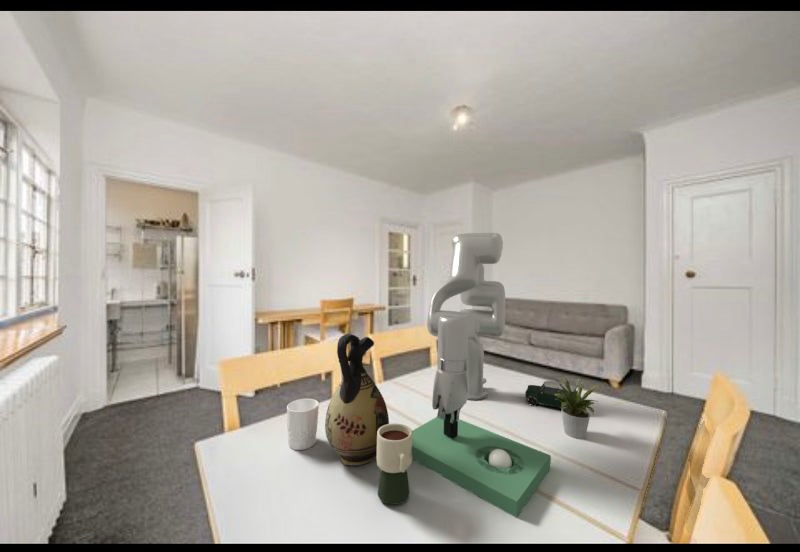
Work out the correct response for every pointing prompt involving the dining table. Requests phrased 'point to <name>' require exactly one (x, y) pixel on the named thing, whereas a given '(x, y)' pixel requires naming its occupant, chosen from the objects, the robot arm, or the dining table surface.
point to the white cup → (302, 423)
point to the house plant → (575, 410)
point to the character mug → (394, 462)
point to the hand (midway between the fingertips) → (450, 435)
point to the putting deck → (481, 463)
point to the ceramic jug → (355, 406)
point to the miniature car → (547, 394)
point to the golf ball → (500, 459)
